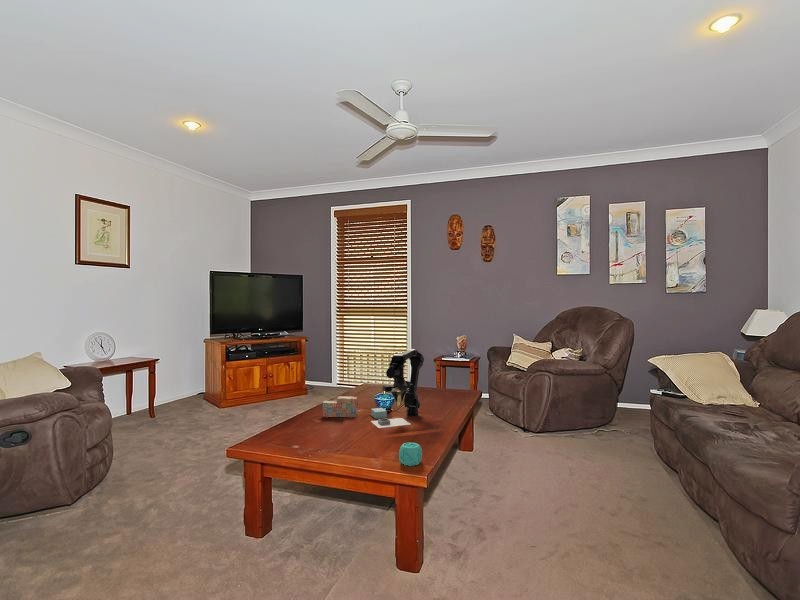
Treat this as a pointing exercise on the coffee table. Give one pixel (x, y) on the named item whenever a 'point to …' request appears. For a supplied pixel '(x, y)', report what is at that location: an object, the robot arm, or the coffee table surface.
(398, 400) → the pin
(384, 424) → the board
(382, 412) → the block
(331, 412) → the stack of blocks
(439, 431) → the coffee table surface
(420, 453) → the decorative dice
